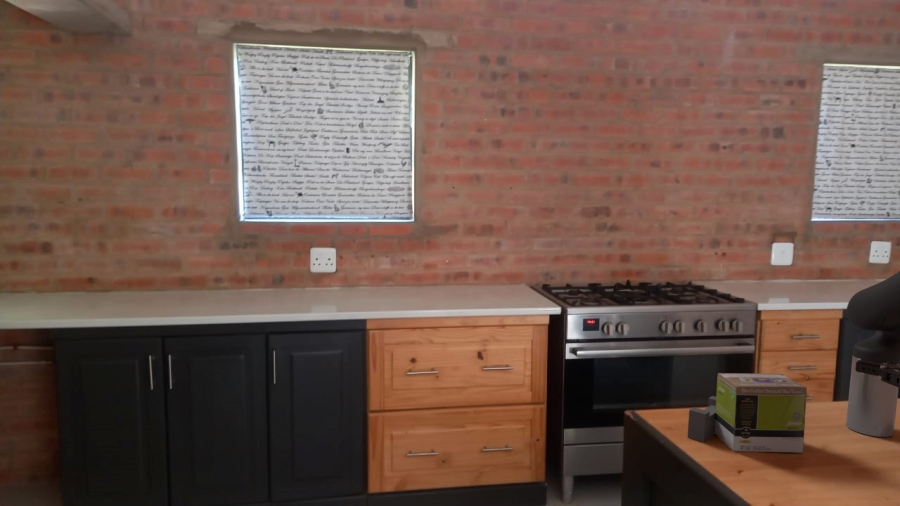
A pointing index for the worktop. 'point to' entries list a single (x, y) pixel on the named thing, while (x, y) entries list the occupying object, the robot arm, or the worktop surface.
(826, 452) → the worktop surface
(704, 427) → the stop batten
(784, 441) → the tea box
